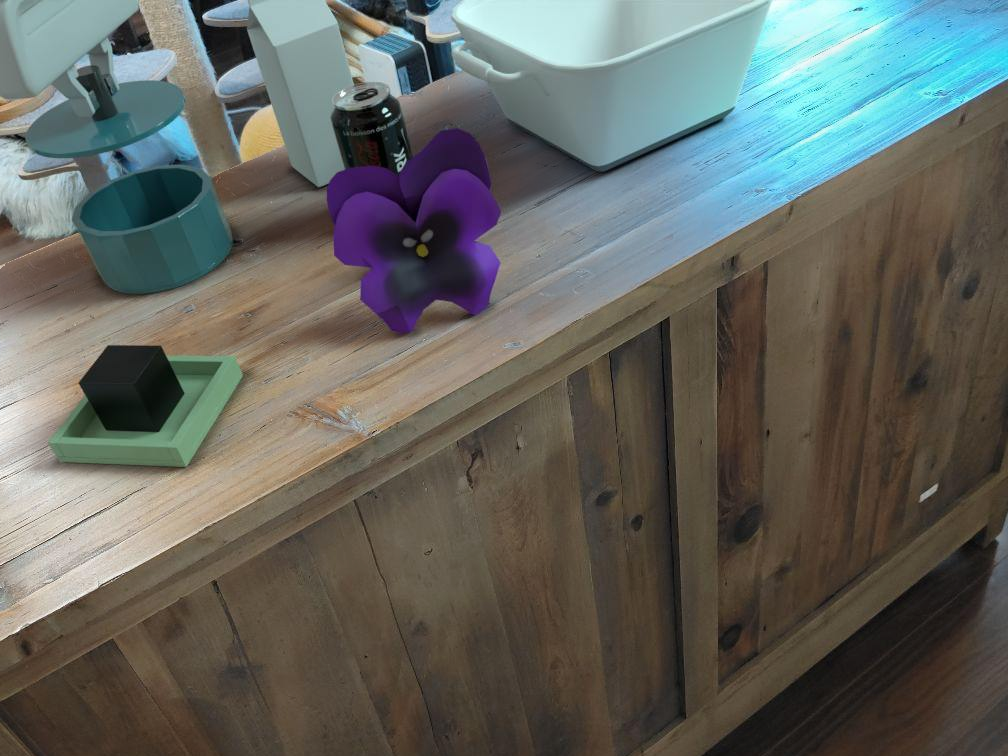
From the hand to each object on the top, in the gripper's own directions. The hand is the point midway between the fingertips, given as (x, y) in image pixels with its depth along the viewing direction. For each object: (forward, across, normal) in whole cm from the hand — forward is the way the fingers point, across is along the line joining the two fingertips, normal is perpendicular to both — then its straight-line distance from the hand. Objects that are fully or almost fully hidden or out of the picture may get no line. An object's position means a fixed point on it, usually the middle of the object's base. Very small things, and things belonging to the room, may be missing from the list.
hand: (99, 104), depth 92 cm
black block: (+15, +25, +10) cm, 31 cm away
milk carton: (+16, -18, +12) cm, 27 cm away
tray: (+16, +25, +11) cm, 31 cm away
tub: (+16, -26, +43) cm, 53 cm away
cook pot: (+16, 0, 0) cm, 16 cm away
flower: (+16, +6, +30) cm, 34 cm away
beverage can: (+16, -8, +22) cm, 28 cm away
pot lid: (+2, 0, 0) cm, 2 cm away
